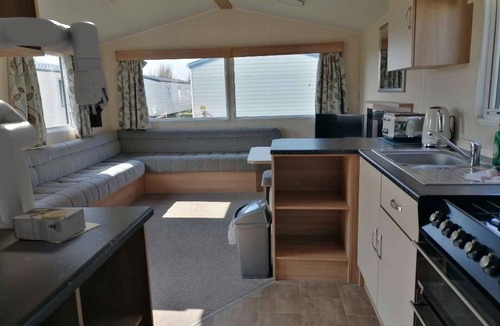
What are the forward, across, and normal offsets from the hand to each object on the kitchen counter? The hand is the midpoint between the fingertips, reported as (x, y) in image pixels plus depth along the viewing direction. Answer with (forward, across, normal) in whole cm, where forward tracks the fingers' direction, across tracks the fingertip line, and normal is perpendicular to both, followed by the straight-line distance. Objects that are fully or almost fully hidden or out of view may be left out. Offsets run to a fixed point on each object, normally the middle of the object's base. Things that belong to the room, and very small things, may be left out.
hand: (96, 127), depth 113 cm
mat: (+29, -3, -14) cm, 32 cm away
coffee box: (+26, +5, -16) cm, 30 cm away
